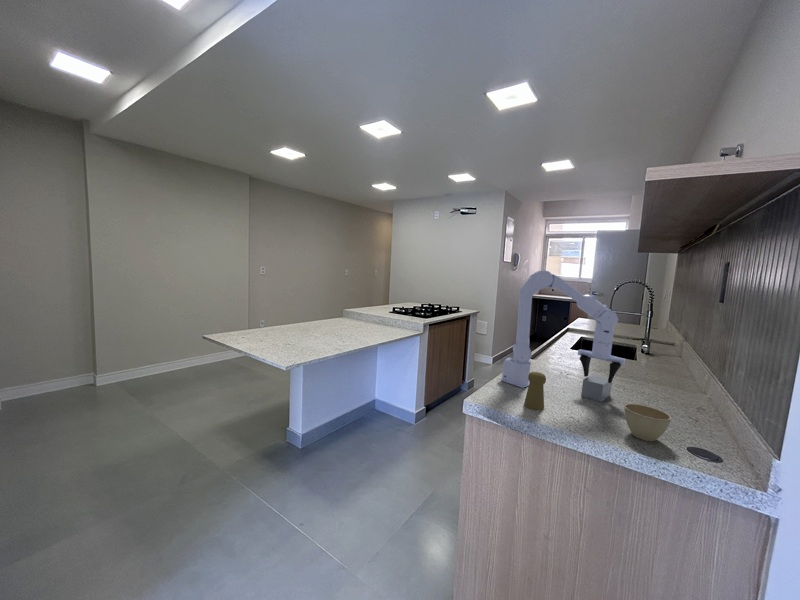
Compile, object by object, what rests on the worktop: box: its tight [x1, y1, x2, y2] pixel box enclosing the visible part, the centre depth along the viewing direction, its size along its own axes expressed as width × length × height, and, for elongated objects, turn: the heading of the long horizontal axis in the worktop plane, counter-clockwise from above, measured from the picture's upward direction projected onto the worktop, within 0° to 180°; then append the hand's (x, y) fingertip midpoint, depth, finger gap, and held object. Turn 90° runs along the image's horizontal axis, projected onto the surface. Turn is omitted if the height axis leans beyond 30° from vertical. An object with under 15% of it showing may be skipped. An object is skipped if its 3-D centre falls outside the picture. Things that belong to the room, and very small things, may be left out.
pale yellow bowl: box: [623, 403, 672, 442], centre depth 86 cm, size 10×10×7 cm
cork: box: [523, 371, 547, 411], centre depth 102 cm, size 6×6×11 cm
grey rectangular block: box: [580, 374, 613, 403], centre depth 116 cm, size 6×11×6 cm, turn 132°
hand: (597, 379), depth 116 cm, fingers open, 7 cm apart
